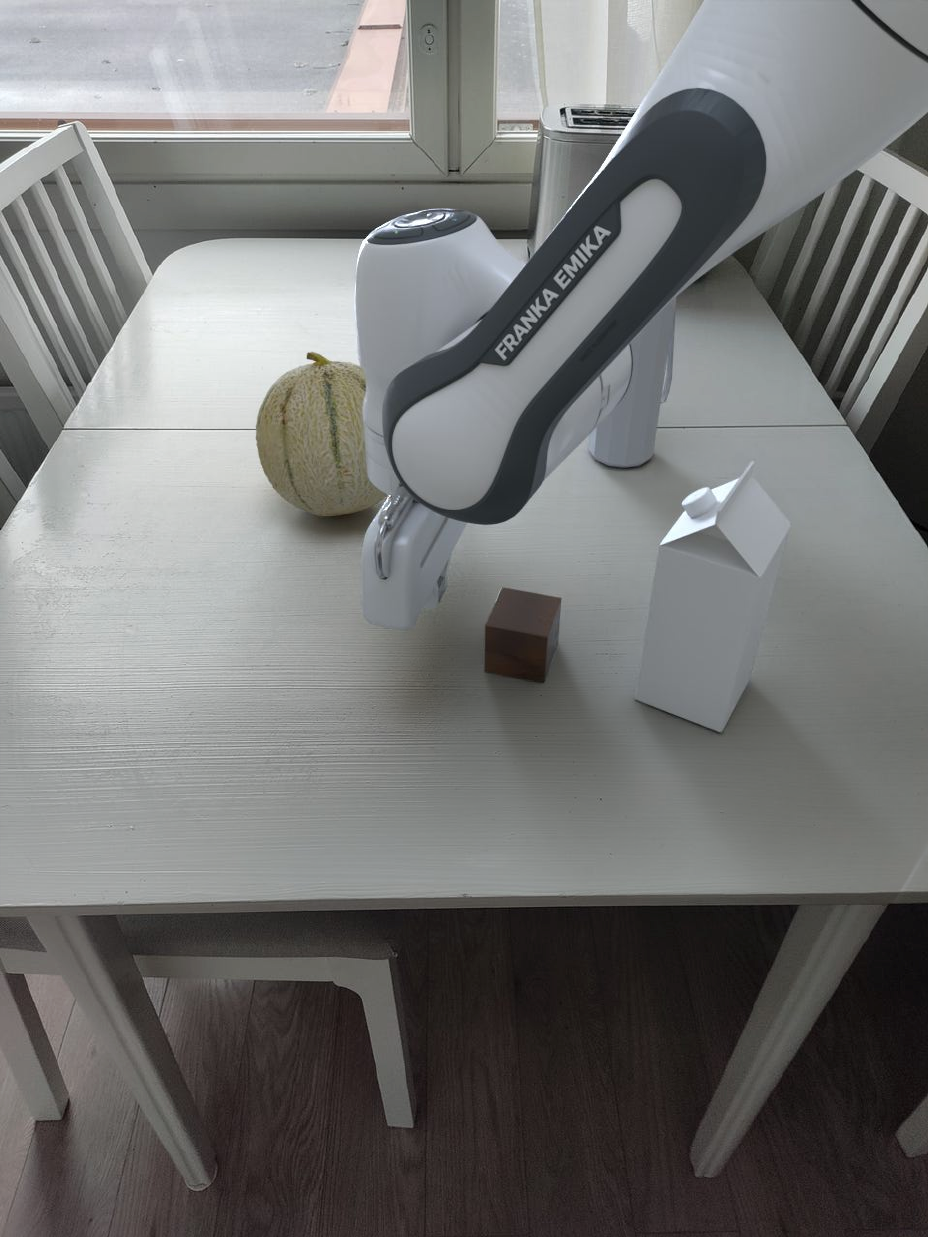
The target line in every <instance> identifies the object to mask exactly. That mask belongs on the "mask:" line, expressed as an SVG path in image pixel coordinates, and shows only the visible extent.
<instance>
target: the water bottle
mask: <svg viewBox="0 0 928 1237" xmlns="http://www.w3.org/2000/svg"><path fill="white" fill-rule="evenodd" d="M676 310H677V296H676V297H675V298H674V299H673V300H672V301H671V302H670V303H669V304H668V305H667V306H665V307H664V308H663V309H662V310H661V311H660V312H659V313H658V314H657V315H656V316H655V317H654V319H653V320H652V321H651V322H650V323H649V324H648V325H647V326H646V327H645V328H644V329H643V330H642V331H641V332H640V333H639V334H638V336H637V337H636V338H635V339H634V340H633V341H632V342H631V343H630V344H631V348H632V355H633V371H632V377H631V381H630V385H629V387H628V390H627V392H626V394H625V395H624V397H623V399H622V400H621V401H620V402H619V403H618V405H617V406H615V408H614V409H613V410H612V411H611V412H610V413H609V415H608V416H607V417H606V418H605V419H604V420H603V421H602V422H601V423H600V424H599V425H598V426H597V427H596V428H595V429H594V430H593V431H592V432H591V433H590V434H589V435H588V438H587V439H588V440H587V449H588V451H589V453H590V454H591V455H592V456H593V458H594V459H595V461H597V462H599V463H602V464H604V465H606V466H609V467H615V468H623V469H624V468H625V469H626V468H632V467H640V466H641V465H643V464H645V463H646V462H649V460H650V459H652V457H653V456H654V452H655V451H654V450H655V445H656V439H657V438H656V437H657V430H658V423H659V416H660V412H661V411H660V409H661V404H664V403H666V402H667V400H668V397H669V394H670V390H671V386H672V380H673V368H674V365H673V364H674V350H675V331H676V330H675V329H676V315H677V314H676V313H677V312H676ZM665 375H666V377H665Z"/></svg>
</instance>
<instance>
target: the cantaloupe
mask: <svg viewBox="0 0 928 1237" xmlns="http://www.w3.org/2000/svg"><path fill="white" fill-rule="evenodd" d="M306 360H309V361H313V362H312V363H307V364H304V365H300V366H297V367H295V368H293V369H291V370H288V371H286V372H285V373H283V374H282V375H281V376H279V378H278V379H277V380H275V382H274V383H273V384H272V385H271V386H270V387H269V389H268V390H267V392H266V394H265V396H264V397H263V400H262V402H261V405H260V407H259V409H258V413H257V417H256V425H255V440H256V447H257V453H258V458H259V463H260V465H261V468H262V471H263V473H264V475H265V477H266V478H267V480H268V482H269V483H270V485H271V488H272V489H273V490H275V491H276V493H277V494H279V496H280V497H282V498H283V499H284V500H285V501H286V502H288V503H290V504H291V505H292V506H294V507H296V508H298V509H300V510H302V511H305V512H307V513H309V514H313V515H315V516H318V517H335V516H342V515H348V514H354V513H359V512H362V511H364V510H366V509H369V508H370V507H373V506H375V505H377V504H378V503H380V502H381V501H382V500H384V499H385V498H386V497H388V496H387V494H386V493H384V492H382V491H381V490H379V489H378V488H377V487H375V486H374V485H373V484H372V482H371V481H370V479H369V477H368V474H367V467H366V454H365V442H364V429H363V415H362V407H363V401H364V397H365V393H366V381H365V376H364V373H363V371H362V368H361V366H360V364H355V363H352V362H350V361H340V360H330V359H328V358H327V357H325V356H323V355H322V354H320V353H317V352H314V351H310V352H306Z"/></svg>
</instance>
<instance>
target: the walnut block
mask: <svg viewBox="0 0 928 1237" xmlns="http://www.w3.org/2000/svg"><path fill="white" fill-rule="evenodd" d="M561 609H562V597H559V596H555V595H548V594H542V593H537V592H533V591H527V590H520V589H514V588H510V587H504V586H502V587H500V590H499V591H498V594H497V597H496V599H495V602H494V603H493V606H492V608H491V610H490V613H489V615H488V618H487V620H486V622H485V624H484V669H483V670H484V672H485V673H489V674H495V675H499V676H505V677H509V678H515V679H520V680H525V681H528V682H529V681H530V682H534V683H539V684H545V683H546V681H547V678H548V676H549V672H550V668H551V665H552V662H553V659H554V656H555V654H556V651H557V649H558V648H557V647H558V645H559V635H560V623H561Z"/></svg>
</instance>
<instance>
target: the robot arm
mask: <svg viewBox="0 0 928 1237" xmlns="http://www.w3.org/2000/svg"><path fill="white" fill-rule="evenodd" d="M927 113H928V0H703V1H702V3H701V5H700V7H699V8H698V10H697V12H696V13H695V15H694V17H693V18H692V20H691V21H690V23H689V25H688V26H687V28H686V30H685V31H684V33H683V35H682V37H681V38H680V40H679V42H678V44H676V47H675V48H674V50H673V51H672V53H671V55H670V57H669V58H668V60H667V62H666V63H665V65H664V67H663V68H662V69H661V71H660V73H659V74H658V76H657V78H656V79H655V80H654V82H653V84H652V85H651V87H650V89H649V90H648V92H647V93H646V95H645V96H644V98H643V100H642V101H641V103H640V104H639V106H638V108H637V110H635V112H634V114H633V116H631V119H630V120H629V122H628V123H627V125H626V126H625V129H624V130H623V132H622V133H621V135H620V136H619V138H618V139H617V141H616V143H615V144H614V146H613V147H612V149H611V150H610V152H609V153H608V156H607V157H606V159H605V160H604V162H603V163H602V164H601V166H600V167H599V169H598V171H597V172H596V174H594V176H593V178H592V179H591V180H590V181H589V182H588V184H587V185H586V186H585V188H584V189H583V190H582V192H581V193H580V194H579V196H577V198H576V199H575V200H574V202H573V204H572V205H571V206H569V209H568V210H567V211H566V213H565V214H564V215H563V216H562V217H561V219H560V220H559V222H558V223H557V224H556V226H555V227H553V230H552V231H551V232H550V233H549V234H548V236H546V238H545V240H544V241H543V242H542V243H541V244H540V246H539V247H538V248H537V250H536V251H535V252H534V254H533V255H532V256H531V257H530V259H529V260H528V261H527V262H526V261H524V260H522V259H521V258H520V257H518V256H517V255H515V254H514V253H512V252H511V251H510V250H508V248H506V247H505V246H504V245H503V244H501V243H500V241H498V240H497V238H496V237H495V236H494V234H493V233H492V232H491V230H490V228H489V227H488V225H487V224H486V223H485V221H484V220H483V219H482V218H481V217H480V216H478V215H477V214H474V213H472V212H470V211H467V210H464V209H460V208H446V207H445V208H431V209H424V210H419V211H418V212H413V213H408V214H403V215H401V216H398V217H396V218H394V219H391V220H389V221H388V222H386V223H384V224H382V225H381V226H379V227H377V228H375V229H374V230H372V231H371V232H370V233H369V234H368V236H366V238H365V239H364V240H363V241H362V243H361V245H360V249H359V253H358V257H357V261H356V271H355V284H354V317H355V318H354V319H355V320H354V321H355V323H354V324H355V337H356V352H357V359H358V362H359V366H361V368H362V371H363V373H364V376H365V381H366V393H365V397H364V401H363V407H362V415H363V429H364V442H365V454H366V467H367V474H368V477H369V479H370V481H371V482H372V484H373V485H374V486H375V487H377V488H378V489H379V490H381V491H382V492H384V493H386V494H387V496H386V497H387V498H386V500H385V501H384V502H383V504H382V505H381V507H380V508H379V510H378V512H377V513H376V515H375V516H374V518H373V519H372V521H371V522H370V524H369V526H368V527H367V530H366V532H365V535H364V538H363V540H362V547H361V558H360V587H361V588H360V591H361V594H360V596H361V612H362V616H363V619H364V620H365V621H366V622H368V623H369V624H370V625H373V626H377V627H380V628H385V629H389V630H390V629H391V630H396V631H401V632H408V631H412V630H413V628H414V627H415V625H416V623H417V621H418V620H419V617H420V615H421V613H422V612H423V610H426V611H432V612H433V611H435V610H437V608H438V606H439V604H440V602H441V600H442V597H443V596H444V594H445V592H446V590H447V588H448V572H449V569H450V568H449V567H450V563H451V559H452V554H453V551H454V549H455V547H456V545H457V544H458V542H459V539H460V538H461V536H462V534H463V532H464V530H465V529H466V526H467V524H473V525H482V526H491V525H497V524H502V523H505V522H507V521H509V520H511V519H513V518H514V517H516V516H517V515H518V514H519V513H520V512H521V511H522V510H523V509H524V507H525V506H526V505H527V504H528V503H529V501H530V500H531V499H532V497H533V496H535V494H536V493H537V491H538V489H540V488H541V486H542V484H543V483H544V482H545V480H546V479H547V478H548V477H549V476H551V474H552V473H553V472H554V471H556V470H557V468H558V467H559V466H560V465H561V464H562V463H563V462H564V461H565V460H566V459H567V458H568V457H569V456H570V455H571V454H573V452H574V451H575V450H576V449H577V448H578V447H579V446H580V445H581V444H582V443H584V441H585V440H586V439H587V438H588V437H589V434H590V433H591V432H592V431H593V430H594V429H595V428H596V427H597V426H598V425H599V424H600V423H601V422H602V421H603V420H604V419H605V418H606V417H607V416H608V415H609V413H610V412H611V411H612V410H613V409H614V408H615V406H617V405H618V403H619V402H620V401H621V400H622V399H623V397H624V395H625V394H626V392H627V390H628V387H629V385H630V381H631V377H632V371H633V355H632V348H631V344H630V343H631V342H632V341H633V340H634V339H635V338H636V337H637V336H638V334H639V333H640V332H641V331H642V330H643V329H644V328H645V327H646V326H647V325H648V324H649V323H650V322H651V321H652V320H653V319H654V317H655V316H656V315H657V314H658V313H659V312H660V311H661V310H662V309H663V308H664V307H665V306H667V305H668V304H669V303H670V302H671V301H672V300H673V299H674V298H675V297H676V298H677V297H678V296H679V295H680V294H681V293H682V292H684V291H685V290H686V289H687V288H688V287H689V286H691V285H692V284H694V282H696V281H697V280H699V279H700V278H701V277H703V275H705V274H706V273H707V272H709V271H710V270H711V269H713V268H714V267H715V266H717V265H719V264H720V263H721V262H722V261H724V260H725V259H727V258H728V257H730V256H731V255H733V254H734V253H735V252H737V251H738V250H740V249H741V248H743V247H744V246H746V245H747V244H749V243H750V242H752V241H753V240H755V239H756V238H759V237H760V236H761V235H762V234H764V233H766V232H767V231H769V230H770V229H771V228H773V227H775V226H776V225H777V224H780V223H781V222H782V221H784V220H785V219H787V218H788V217H790V216H791V215H793V214H794V213H797V211H799V210H800V209H802V208H803V207H805V206H807V205H808V204H809V203H810V202H812V201H813V200H815V199H817V198H819V197H820V196H821V195H822V194H824V193H826V192H827V191H828V190H830V189H831V188H833V187H834V186H835V185H837V184H839V183H840V182H841V181H843V180H844V179H845V178H847V177H849V176H850V175H851V174H853V173H854V172H856V171H857V170H858V169H860V168H861V167H862V166H864V165H865V164H866V163H868V162H869V161H870V160H872V159H873V158H874V157H876V156H877V155H878V154H879V153H881V152H882V151H883V150H885V149H886V148H887V147H888V146H889V145H891V144H892V143H893V142H894V141H896V140H897V139H898V138H900V137H901V135H903V134H904V133H905V132H907V131H908V130H909V129H910V128H911V127H912V126H914V125H915V124H916V123H917V122H919V120H920V119H922V118H923V117H924V116H925V115H926V114H927Z"/></svg>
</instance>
